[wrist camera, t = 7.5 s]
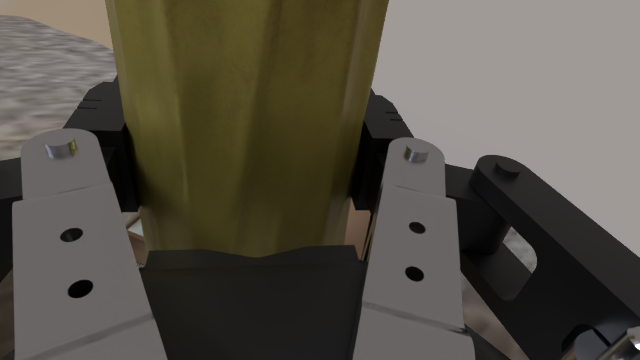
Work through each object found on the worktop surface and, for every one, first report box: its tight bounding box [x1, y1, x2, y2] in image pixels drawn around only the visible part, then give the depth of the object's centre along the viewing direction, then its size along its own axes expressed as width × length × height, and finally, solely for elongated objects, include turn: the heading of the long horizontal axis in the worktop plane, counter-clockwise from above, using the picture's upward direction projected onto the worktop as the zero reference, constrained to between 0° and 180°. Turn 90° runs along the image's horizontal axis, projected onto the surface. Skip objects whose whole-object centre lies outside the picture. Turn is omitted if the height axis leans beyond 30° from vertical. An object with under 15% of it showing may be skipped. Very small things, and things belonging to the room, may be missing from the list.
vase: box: [105, 0, 389, 257], centre depth 10 cm, size 6×6×14 cm
